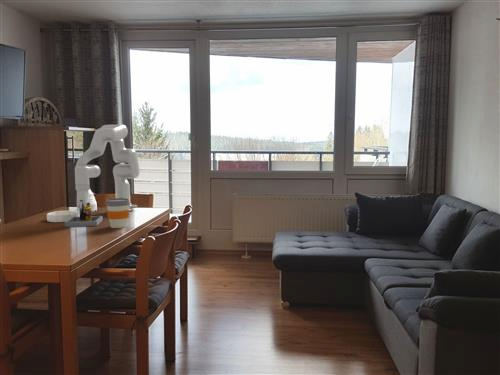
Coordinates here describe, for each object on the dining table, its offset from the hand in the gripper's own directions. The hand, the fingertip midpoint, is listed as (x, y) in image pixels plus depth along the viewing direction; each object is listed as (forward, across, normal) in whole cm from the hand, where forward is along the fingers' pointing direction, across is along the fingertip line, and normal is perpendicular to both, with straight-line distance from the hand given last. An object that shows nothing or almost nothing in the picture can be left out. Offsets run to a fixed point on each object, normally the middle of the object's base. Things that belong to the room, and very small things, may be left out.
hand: (84, 218), depth 240 cm
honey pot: (+3, -48, -9) cm, 49 cm away
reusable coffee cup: (+3, +13, +21) cm, 25 cm away
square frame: (+3, 0, 0) cm, 3 cm away
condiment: (+3, 0, 0) cm, 3 cm away
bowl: (+3, -16, -16) cm, 23 cm away
